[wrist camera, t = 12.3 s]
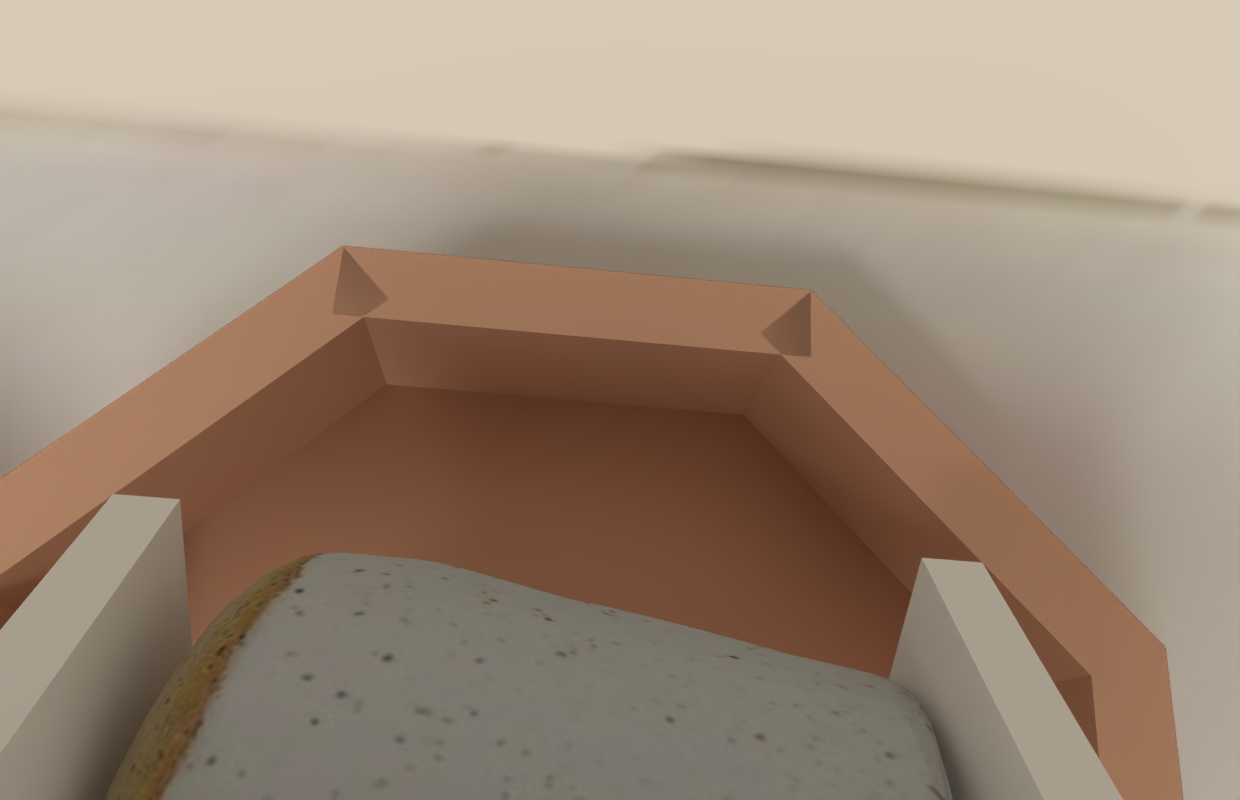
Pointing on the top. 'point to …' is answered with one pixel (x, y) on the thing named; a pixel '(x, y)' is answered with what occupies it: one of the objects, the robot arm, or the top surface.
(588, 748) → the ceramic mug
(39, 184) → the top surface
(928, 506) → the terracotta bowl
